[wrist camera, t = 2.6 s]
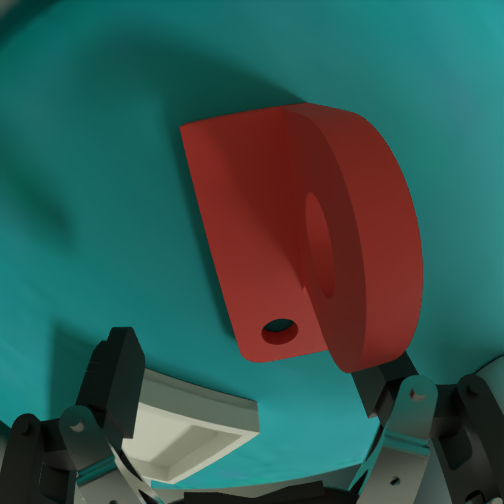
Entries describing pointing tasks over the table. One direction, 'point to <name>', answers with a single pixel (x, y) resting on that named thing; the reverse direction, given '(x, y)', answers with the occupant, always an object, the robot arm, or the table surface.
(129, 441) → the holder tray
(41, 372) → the table surface
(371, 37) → the table surface
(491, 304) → the table surface
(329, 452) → the table surface
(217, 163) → the bracket
